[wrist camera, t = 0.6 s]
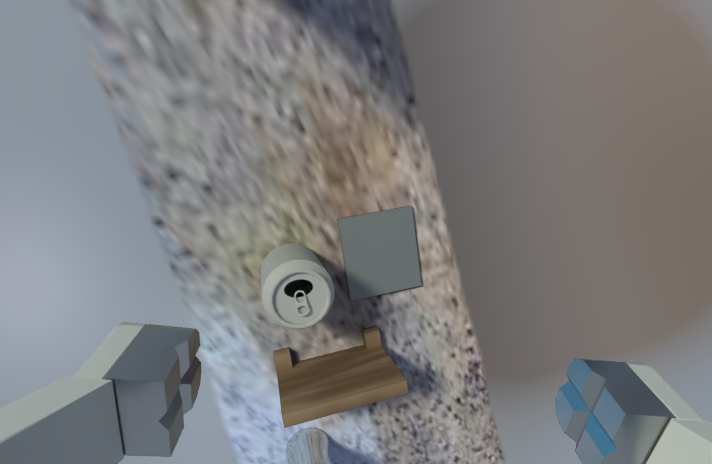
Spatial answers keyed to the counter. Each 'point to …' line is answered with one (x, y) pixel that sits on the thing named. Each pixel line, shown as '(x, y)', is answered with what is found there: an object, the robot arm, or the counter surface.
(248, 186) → the counter surface
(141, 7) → the counter surface
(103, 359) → the robot arm
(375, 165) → the counter surface
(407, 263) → the slate mat
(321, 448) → the beer glass
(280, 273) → the can
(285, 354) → the walnut screen
